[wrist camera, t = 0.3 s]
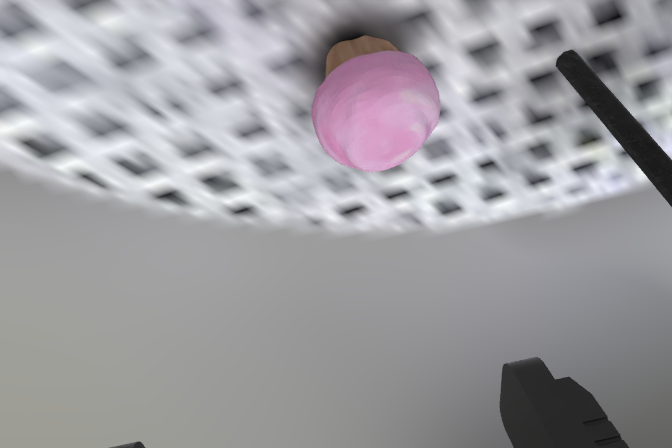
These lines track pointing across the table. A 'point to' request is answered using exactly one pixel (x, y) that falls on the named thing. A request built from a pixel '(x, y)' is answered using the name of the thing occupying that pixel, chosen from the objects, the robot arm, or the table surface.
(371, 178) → the table surface
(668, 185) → the solar garden light
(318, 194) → the table surface
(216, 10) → the table surface
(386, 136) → the cupcake
